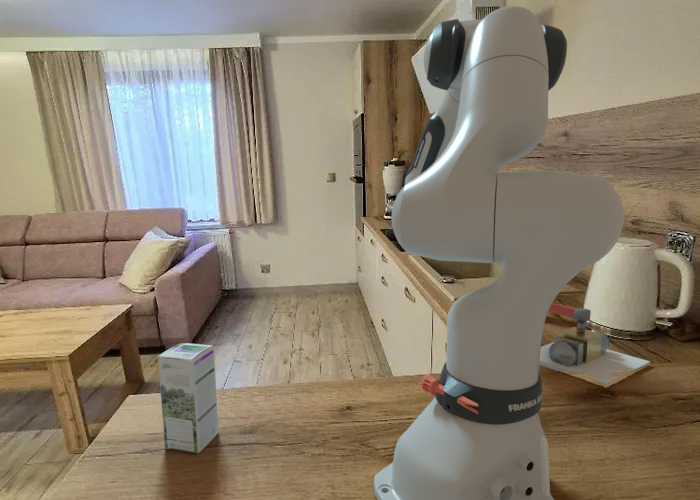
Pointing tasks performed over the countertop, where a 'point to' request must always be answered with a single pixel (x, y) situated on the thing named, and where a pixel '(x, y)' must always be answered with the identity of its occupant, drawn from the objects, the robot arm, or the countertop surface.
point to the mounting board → (596, 365)
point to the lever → (570, 311)
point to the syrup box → (188, 396)
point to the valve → (578, 345)
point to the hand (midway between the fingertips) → (491, 256)
